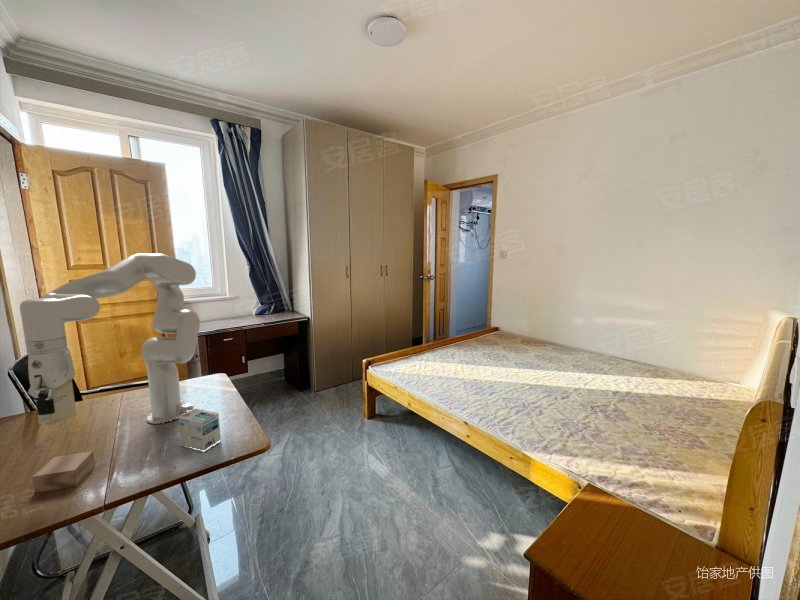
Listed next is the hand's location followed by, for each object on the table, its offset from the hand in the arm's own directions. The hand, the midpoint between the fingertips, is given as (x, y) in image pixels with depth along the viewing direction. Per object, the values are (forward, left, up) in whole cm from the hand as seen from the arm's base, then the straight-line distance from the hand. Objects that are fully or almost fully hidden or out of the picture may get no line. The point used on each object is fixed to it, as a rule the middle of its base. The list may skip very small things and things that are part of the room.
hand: (56, 406), depth 91 cm
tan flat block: (0, 0, -22) cm, 22 cm away
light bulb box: (-32, -7, -22) cm, 39 cm away
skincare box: (0, 0, -4) cm, 4 cm away
